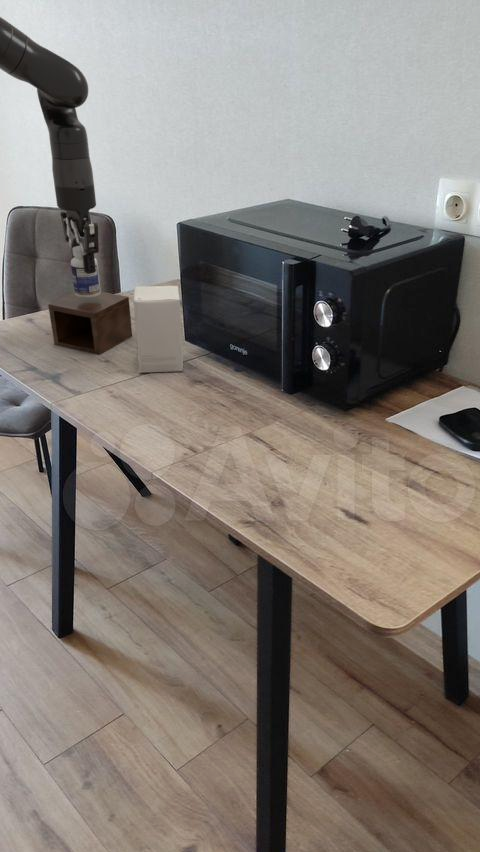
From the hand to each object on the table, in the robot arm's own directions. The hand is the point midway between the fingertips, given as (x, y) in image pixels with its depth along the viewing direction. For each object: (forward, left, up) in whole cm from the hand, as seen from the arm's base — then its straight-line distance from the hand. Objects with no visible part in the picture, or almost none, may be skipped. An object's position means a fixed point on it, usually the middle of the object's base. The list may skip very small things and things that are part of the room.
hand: (84, 268), depth 146 cm
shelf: (0, 0, -16) cm, 16 cm away
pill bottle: (0, 0, -6) cm, 6 cm away
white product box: (-4, -20, -16) cm, 26 cm away
